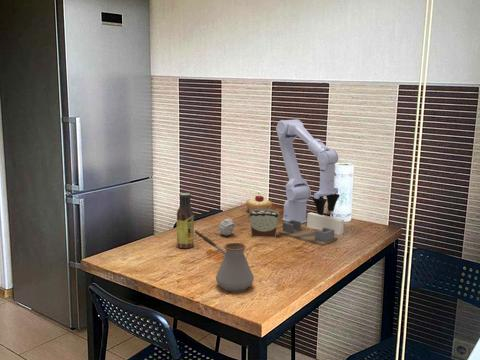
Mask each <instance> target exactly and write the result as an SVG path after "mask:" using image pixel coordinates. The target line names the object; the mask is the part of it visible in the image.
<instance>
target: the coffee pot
mask: <svg viewBox="0 0 480 360" xmlns="http://www.w3.org/2000/svg"><path fill="white" fill-rule="evenodd" d="M193 234H194V237H195V236H196V235H197V236H198V237H200V238H202V240H203V241H204V242H206V243H208V244H209V245H210V246H212V247H214V248H215V249H217V250H218V251H220V252H221V253H222V254H224V257H223V259H222V262H221V264H220V266H219V269H218V271H217V273H216V276H215V281H216V283H217V284H218V286H220V287H221V288H222V289H223V290H225V291H227V292H234V293H235V292H241V291H245V290H246V289H248V288H249V287H250V286H251V285H252V283H253V281H254V278H255V277H254V275H253V272H252V269H251V267H250V265H249V263H248V262H249V261H248V260H247V258H246V255H245V253H244V252H245V250H246V245H245V244H243V243H242V242H230V243H226V244H224V245H223V248H224V249H225V250H224V249H223V248H222V247H220V246H218V245H217V244H216V243H215V242H213V241H212V240H211V239H209V237H207V236H205V235H203V233H200V232H199V231H198V230H195V231H194V233H193ZM192 236H193V235H192Z"/></svg>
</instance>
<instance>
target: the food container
mask: <svg viewBox="0 0 480 360" xmlns="http://www.w3.org/2000/svg"><path fill="white" fill-rule="evenodd" d="M247 217H248V218H249V220H250V222H249V223H250V230H251V234H250V235H251V237H252V238H273V239H274V238H277V237H276V236H277V229H278V222H279V219H281V218H280V217H281V215H280V212H279V211H278V210H275V209H272V208H271V209H255V210H252V211H250V212H249V213H248V215H247Z"/></svg>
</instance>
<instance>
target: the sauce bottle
mask: <svg viewBox="0 0 480 360" xmlns="http://www.w3.org/2000/svg"><path fill="white" fill-rule="evenodd" d="M191 197H192V195H191V193H189V192H181V193H179V207H178V208H177V211H176V245H177V248H179V249H190V248H192V247H193V246H194V241H195V240H194V239H195V233H194V232H195V231H194V230H195V229H194V228H195V226H194V225H195V221H194V219H195V214H194V212H193V209H192V206H191ZM193 233H194V234H193ZM192 235H193V236H192Z"/></svg>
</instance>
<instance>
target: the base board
mask: <svg viewBox="0 0 480 360" xmlns="http://www.w3.org/2000/svg"><path fill="white" fill-rule="evenodd" d="M278 234H279V235H281V236H286V237H289V238H293V239H297V240H301V241H304V242H308V243H311V244H316V245H318V246H326V245H327V244H330V243H332V242H335V241H337V240H338V237H336V236H334V239H332V240H330V241H327V242H322V241H319V240H315V231H313V230H309V229H306V228H305V229H304V228H301V230H300V231H299V230H295V229H294V232H293V233H288V232H285V231H283V230H280V231H279V232H278Z"/></svg>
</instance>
